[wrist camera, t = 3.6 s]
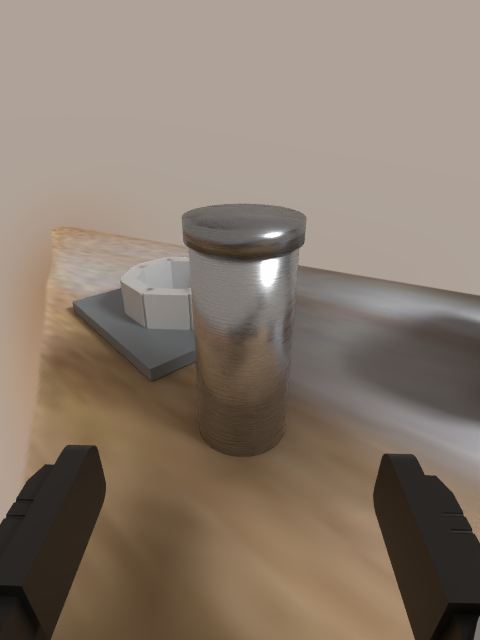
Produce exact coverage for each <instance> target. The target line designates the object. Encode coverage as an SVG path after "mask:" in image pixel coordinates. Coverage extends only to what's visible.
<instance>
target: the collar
mask: <svg viewBox="0 0 480 640" xmlns="http://www.w3.org/2000/svg"><path fill="white" fill-rule="evenodd" d="M120 283H121V289H117V290H114V291H110V292H106V293H103V294H99V295H95V296H92V297H88V298H85V299H81V300H77V301H74V302H73V306H74V311H75V312H76V313H77V314H78V315H79V316H80V317H81V318H82V319H83V320H85V321H86V322H87V323H88V324H89V325H90V326H91V327H92V328H93V329H94V330H96V331H97V332H98V333H99V334H100V335H101V336H102V337H103V338H104V339H105V340H107V341H108V342H109V343H110V344H111V345H112V346H113V347H114V348H115V349H116V350H118V351H119V352H120V353H121V354H122V355H123V356H124V357H125V358H126V359H127V360H129V361H130V362H131V363H132V364H133V365H134V366H135V367H136V368H137V369H138V370H140V371H141V372H142V373H143V374H144V375H145V376H146V377H147V378H148V379H149V380H151V381H154V380H156V379H158V378H160V377H162V376H165V375H167V374H169V373H171V372H173V371H176V370H178V369H180V368H182V367H184V366H187V365H189V364H191V363H193V362H195V345H194V329H193V313H192V297H191V281H190V265H189V257H169V258H168V257H165V258H161V259H157V260H153V261H149V262H144V263H140V264H136V265H135V266H132V267H131V268H130V269H129V270H128V272H127V273H126V274H125V275H124V276H123V277H122V278H121V279H120Z"/></svg>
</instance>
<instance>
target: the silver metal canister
mask: <svg viewBox="0 0 480 640" xmlns="http://www.w3.org/2000/svg"><path fill="white" fill-rule="evenodd" d="M182 228H183V241H184V244H185V245H186V246H187V247H188V249H189V265H190V281H191V297H192V313H193V329H194V345H195V361H196V376H197V392H198V408H199V424H200V432H201V435H202V437H203V438H204V440H205V441H206V442H207V443H208V444H209V445H210V446H211V447H212V448H214V449H216V450H217V451H219V452H222V453H224V454H227V455H232V456H253V455H258V454H261V453H264V452H266V451H268V450H270V449H271V448H273V447H274V446H275V445H276V444H277V443H278V442H279V441H280V440H281V438H282V437H283V434H284V431H285V422H286V409H287V396H288V384H289V371H290V359H291V346H292V334H293V321H294V309H295V296H296V283H297V271H298V257H299V248H300V247H301V246H302V245H303V244H304V240H305V229H306V216H305V215H304V214H303V213H301V212H299V211H296V210H293V209H289V208H284V207H279V206H272V205H261V204H224V205H214V206H207V207H201V208H197V209H194V210H191V211H188V212H186V213H185V214H183V216H182Z"/></svg>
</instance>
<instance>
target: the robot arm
mask: <svg viewBox="0 0 480 640" xmlns="http://www.w3.org/2000/svg"><path fill="white" fill-rule="evenodd" d="M105 492H106V481H105V477H104V473H103V469H102V465H101V461H100V456H99V452H98V449H97V447H96V446H93V445H67V446H66V447H65V448H64V449H63V451H62V452H61V454H60V456H59V457H58V459H57V461H56V463H55V464H54V465H46V464H45V465H44V466H43V467H42V468H41V469H40V470H38V471H37V472H36V473H35V474H34V475H33V476H32V477H31V478H30V479H29V480H28V481H27V482H26V484H25V485H24V487H23V489H22V490H21V492H20V494H19V495H18V497H17V498H16V502H15V503H13V505H12V506H11V508H10V510H9V511H8V513H7V514H6V518H5V519H3V521H2V522H1V524H0V640H51V637H52V634H53V632H54V629H55V627H56V624H57V621H58V619H59V616H60V614H61V611H62V609H63V606H64V603H65V601H66V598H67V596H68V593H69V590H70V588H71V585H72V583H73V580H74V578H75V575H76V572H77V570H78V567H79V565H80V562H81V560H82V557H83V554H84V552H85V549H86V547H87V544H88V541H89V539H90V536H91V534H92V531H93V529H94V526H95V523H96V521H97V518H98V516H99V513H100V511H101V508H102V505H103V502H104V498H105ZM373 500H374V508H375V513H376V516H377V519H378V523H379V526H380V529H381V532H382V535H383V539H384V542H385V545H386V548H387V551H388V555H389V558H390V561H391V564H392V567H393V571H394V574H395V577H396V580H397V583H398V587H399V590H400V593H401V596H402V599H403V603H404V606H405V609H406V612H407V615H408V619H409V622H410V625H411V628H412V631H413V635H414V638H415V640H480V543H479V541H478V539H477V537H476V536H475V534H473V532H472V528H471V526H470V524H469V522H468V521H467V519H466V517H464V515H463V511H462V509H461V507H460V506H459V504H458V502H457V500H456V498H455V496H454V494H453V493H452V492H451V491H450V490H449V489H448V488H447V487H446V486H445V485H444V484H443V483H442V482H441V481H440V480H439V479H438V477H437V476H429V475H425V474H424V472H423V470H422V468H421V466H420V464H419V462H418V460H417V458H416V457H415V456H414V455H412V454H384V455H383V456H382V460H381V463H380V467H379V471H378V475H377V479H376V483H375V487H374V493H373Z"/></svg>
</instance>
